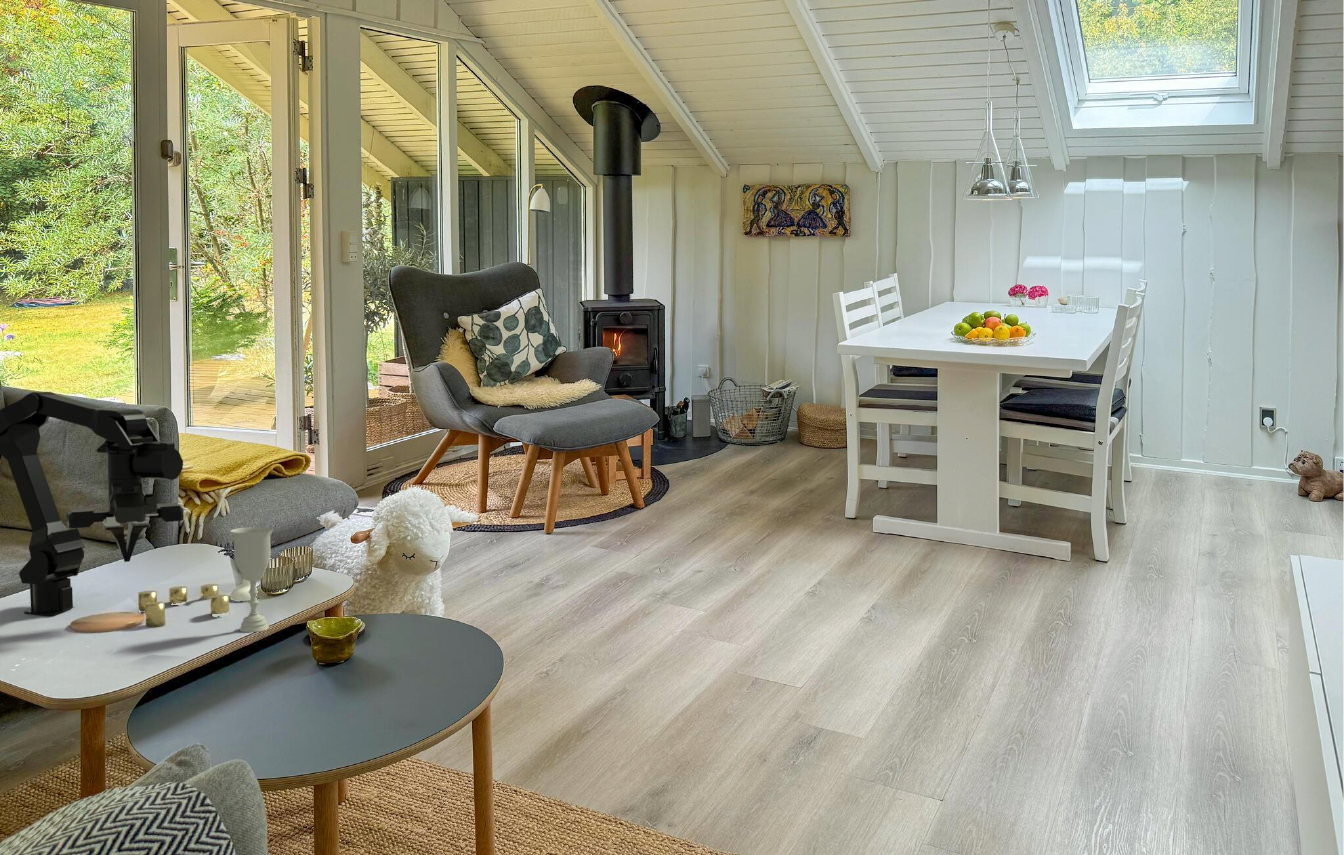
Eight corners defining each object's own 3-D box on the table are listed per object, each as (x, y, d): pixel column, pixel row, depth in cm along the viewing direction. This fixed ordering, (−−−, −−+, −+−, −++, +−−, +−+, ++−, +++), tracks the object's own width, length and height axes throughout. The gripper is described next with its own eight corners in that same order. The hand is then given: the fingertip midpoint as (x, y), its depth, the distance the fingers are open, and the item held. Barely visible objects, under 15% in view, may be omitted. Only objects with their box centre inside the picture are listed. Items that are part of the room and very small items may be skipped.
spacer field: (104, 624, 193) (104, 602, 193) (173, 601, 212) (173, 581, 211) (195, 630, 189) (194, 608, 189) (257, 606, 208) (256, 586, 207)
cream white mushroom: (225, 605, 209) (224, 565, 208) (258, 600, 213) (257, 561, 212) (235, 611, 204) (234, 570, 204) (268, 606, 208) (267, 566, 207)
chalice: (282, 624, 194) (280, 527, 192) (264, 633, 187) (262, 533, 186) (244, 623, 194) (242, 526, 193) (225, 632, 187) (222, 532, 186)
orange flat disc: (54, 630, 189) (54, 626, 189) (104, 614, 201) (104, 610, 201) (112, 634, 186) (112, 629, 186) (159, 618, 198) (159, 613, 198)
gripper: (70, 485, 182) (72, 574, 183) (188, 479, 192) (189, 564, 193) (65, 478, 191) (67, 563, 192) (177, 473, 201) (178, 554, 203)
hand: (126, 561), depth 195 cm, fingers closed
